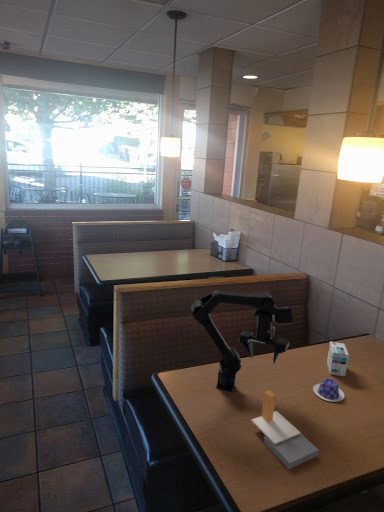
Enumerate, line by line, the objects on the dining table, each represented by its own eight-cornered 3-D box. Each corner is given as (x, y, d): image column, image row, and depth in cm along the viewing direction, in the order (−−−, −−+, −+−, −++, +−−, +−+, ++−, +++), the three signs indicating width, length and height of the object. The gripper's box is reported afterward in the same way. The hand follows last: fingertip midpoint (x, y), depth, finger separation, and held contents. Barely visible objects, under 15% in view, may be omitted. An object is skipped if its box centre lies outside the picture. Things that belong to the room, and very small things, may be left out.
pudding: (308, 394, 151) (309, 382, 150) (318, 381, 161) (320, 370, 159) (338, 407, 144) (340, 395, 143) (348, 393, 154) (350, 381, 152)
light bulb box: (345, 377, 164) (349, 354, 161) (329, 374, 165) (333, 352, 163) (341, 364, 174) (345, 343, 171) (326, 362, 176) (329, 341, 173)
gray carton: (263, 442, 124) (264, 436, 123) (291, 431, 130) (291, 425, 129) (288, 469, 114) (289, 462, 113) (317, 456, 120) (318, 449, 119)
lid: (251, 420, 130) (254, 395, 127) (276, 412, 135) (279, 387, 132) (274, 444, 120) (278, 417, 117) (300, 434, 125) (304, 407, 122)
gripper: (293, 320, 150) (291, 356, 154) (248, 312, 158) (247, 346, 162) (286, 332, 140) (284, 369, 144) (238, 322, 149) (238, 358, 153)
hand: (262, 360), depth 151 cm, fingers open, 9 cm apart
